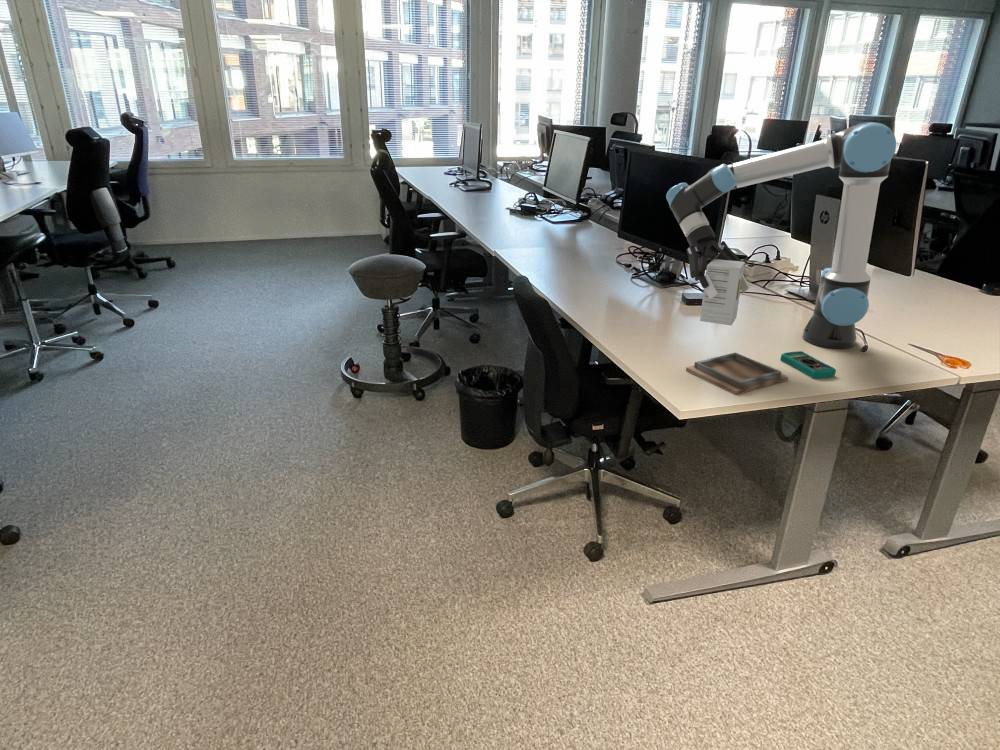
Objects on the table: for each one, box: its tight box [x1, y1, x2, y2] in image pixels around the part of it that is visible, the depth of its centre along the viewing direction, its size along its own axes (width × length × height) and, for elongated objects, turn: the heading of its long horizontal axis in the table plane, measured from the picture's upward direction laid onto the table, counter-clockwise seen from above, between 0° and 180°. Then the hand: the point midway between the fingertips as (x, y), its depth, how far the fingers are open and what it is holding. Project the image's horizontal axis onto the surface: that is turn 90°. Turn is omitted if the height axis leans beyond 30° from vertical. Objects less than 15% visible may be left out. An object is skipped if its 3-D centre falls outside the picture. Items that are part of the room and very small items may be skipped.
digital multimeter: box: [780, 350, 837, 380], centre depth 180 cm, size 7×15×3 cm, turn 15°
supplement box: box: [699, 259, 746, 326], centre depth 183 cm, size 10×9×17 cm
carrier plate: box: [685, 352, 790, 395], centre depth 174 cm, size 20×18×2 cm
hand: (730, 293), depth 181 cm, fingers closed on supplement box, 12 cm apart
